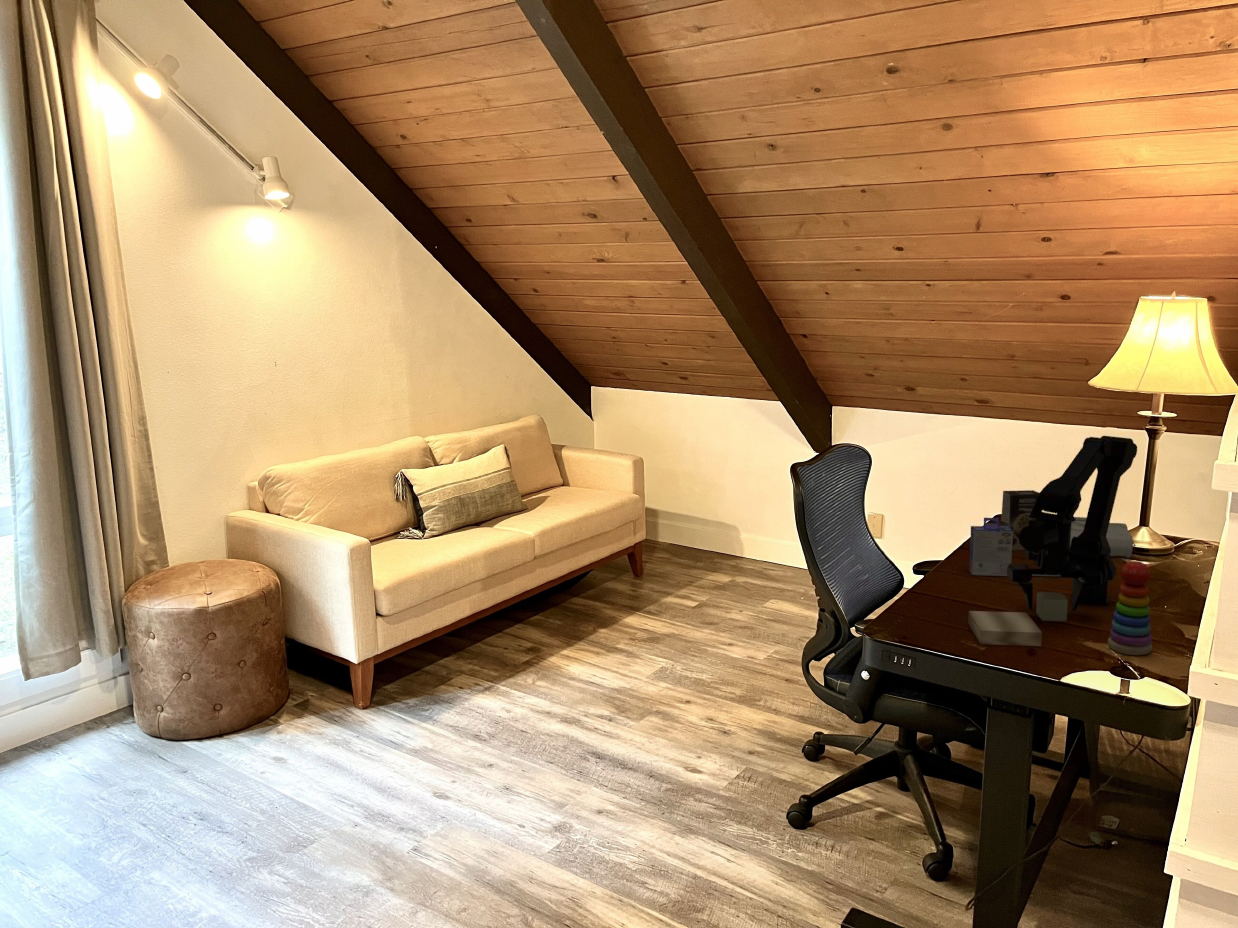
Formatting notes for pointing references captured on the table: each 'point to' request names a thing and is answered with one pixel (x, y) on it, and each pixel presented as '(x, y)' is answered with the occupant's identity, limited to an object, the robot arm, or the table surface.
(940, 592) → the table surface
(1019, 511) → the coffee box
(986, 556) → the ink cartridge box
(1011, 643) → the birch base block
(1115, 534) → the book
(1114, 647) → the stacking toy
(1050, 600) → the sage cube
